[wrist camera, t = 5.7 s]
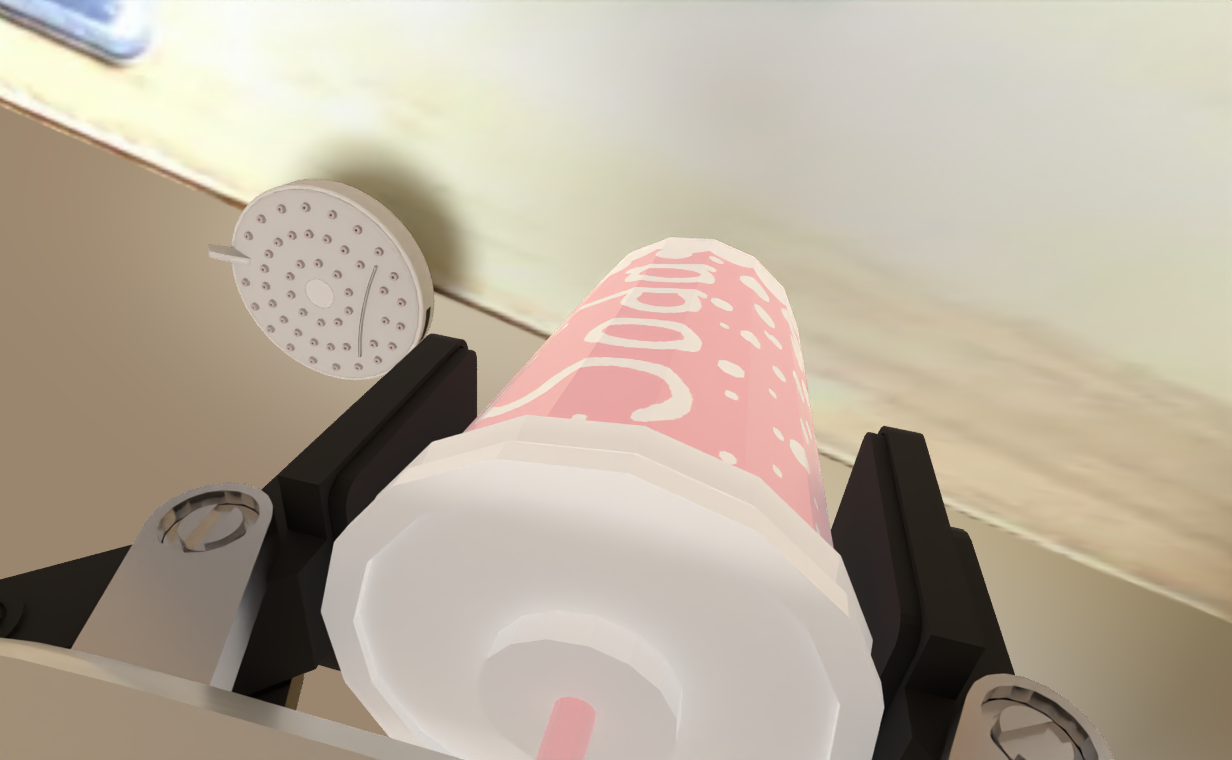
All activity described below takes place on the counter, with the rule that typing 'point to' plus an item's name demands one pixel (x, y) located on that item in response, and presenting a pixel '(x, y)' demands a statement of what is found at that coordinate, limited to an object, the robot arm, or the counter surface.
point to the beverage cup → (619, 546)
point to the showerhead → (331, 277)
